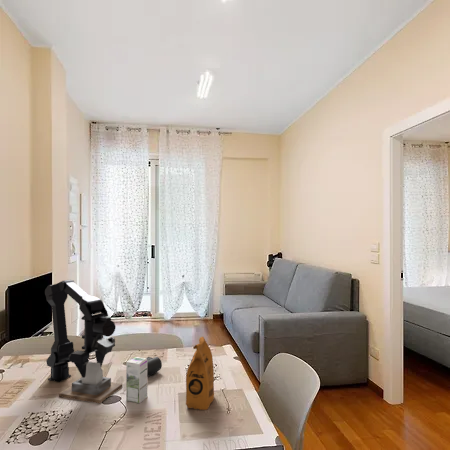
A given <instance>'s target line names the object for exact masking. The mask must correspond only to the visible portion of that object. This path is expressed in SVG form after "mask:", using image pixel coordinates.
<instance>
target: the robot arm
mask: <svg viewBox="0 0 450 450" xmlns="http://www.w3.org/2000/svg"><path fill="white" fill-rule="evenodd" d="M44 295H45V298H46V302H48V304H49V305H50V306H51V307H50V308H51V315H52V325H53V338H54V342H53V343H52V345H51V347H50V355H49V356H48V358H47V359H46V366H48V367H50V377H49V378H47V381H52V382H56V383H60V382H63V381H64V380H65V381H66V379H68V378H70V377H72V375H71V374H70V367H69V363H70V362H71V363H72V364H74V366H75V367H76V368H77V370H78V372H79V374H80V376H81V378H82V377H83V378H85V375H86V364H87V363H88V362H90V355H91V354H92V353H94V356H95V362H96V363H100V365H101V368H102V366H103V364H104V361H105V357H106V355H107V354H109V353H111V352H112V350H113V348H114V347H115V346H116V344H115V343H116V338H115V337H113V334H114V333H115V331H116V324H115V322H114V321H113V320H112V317H109V314H108V311H107V309H106V306H105V304H104V302H103V300H102V299H101V298H99V297H97V296H94V295H90V294H88V293H87V292H86V291H85V290H83V289H82V288H81V287H80V286H79V285H78V284H77V283H76V282H75V280H73V279H67V280H61V281H60V282H57V283H54V284H48V285H47V287H46V288H45V290H44ZM68 296H69V297H70V298H71V299H72V300H74V302H76V303H77V304H78V305H79V308H78V309H79V311H80V312H81V313H82V314H83V316H81V318H80V319H81V320H83V321H84V324H83V325H84V328H83V329H84V330H83V333H84V334H83V335H82V336H81V339H83V340H84V341H83V345H82V346H81V350H75V349H74V342H73V341H71V340H70V339H69V338H68V330H67V328H68V327H67V320H66V310H65V309H66V308H65V303H66V301H67V299H68ZM104 337H109V338H104Z"/></svg>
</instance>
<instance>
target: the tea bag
mask: <svg viewBox="0 0 450 450" xmlns="http://www.w3.org/2000/svg"><path fill="white" fill-rule="evenodd" d="M103 375H104V371H103V369H102V367H101V365H100V363H97V362H96V361H95V362H94V361H89V362H88V363H87V364H86V375H85V378H83V377H82V376H81V378H82V383H84V384H90V385H98V384H99V383H101V382H103V377H104V376H103Z"/></svg>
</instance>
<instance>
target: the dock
mask: <svg viewBox="0 0 450 450" xmlns="http://www.w3.org/2000/svg"><path fill="white" fill-rule="evenodd" d="M121 387H122V388H123V383H118V382H112V378H111V377H106V376H103V382H101V383H99V384H98V385H90V384H84V383H82V377H80V378H78V379H76V380H75V381H73V382H71V386H69V387H67V388H66V389H64V390H62V391H60V392H59V393H58V397H61V398H65V399H71V400H77V401H83V402H88V403H95V404H101V403H102V402H104V401H105V400H106V398H107V399H108V398H109V397H110V396H112V395H114V392H115V393H116V392H118V391H119V390H120V389H121ZM118 389H119V390H118Z"/></svg>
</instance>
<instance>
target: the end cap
mask: <svg viewBox="0 0 450 450" xmlns="http://www.w3.org/2000/svg"><path fill="white" fill-rule="evenodd" d="M146 358H147V378H148V377H150V376H152V375H154V374H156V373H158V372H159V371H161V369H162V368H163V367H162V366H163V364H162V359H161V358H160V357H158V356H154V357H150V356H147V357H146Z"/></svg>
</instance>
